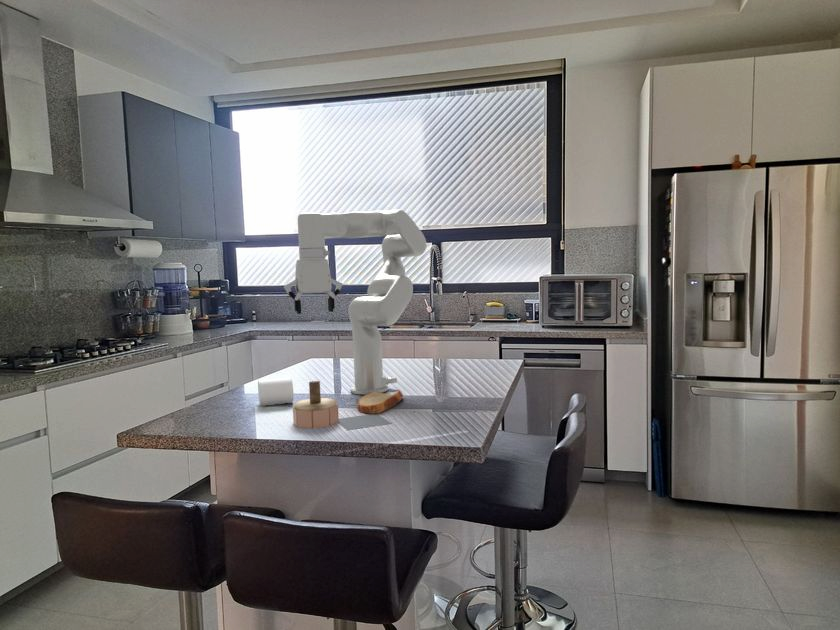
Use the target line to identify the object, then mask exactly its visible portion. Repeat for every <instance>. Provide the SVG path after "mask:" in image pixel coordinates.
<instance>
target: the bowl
mask: <svg viewBox="0 0 840 630" xmlns="http://www.w3.org/2000/svg"><path fill="white" fill-rule="evenodd" d="M292 416H293V417H292V419H293V425H294V426H295V427H296V428H302V429H303V428H304V429H319V428H324V427H325V428H326V427H331V426H333V425H335V424H337V423H338V421H339V419H340V418H339V404H338V402H336V406H334V407H332V408H329V409H324V410H316V411H303V410H297V409H295V407H294V405H292Z"/></svg>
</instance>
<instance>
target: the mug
mask: <svg viewBox="0 0 840 630" xmlns="http://www.w3.org/2000/svg"><path fill="white" fill-rule="evenodd" d="M257 390H258V392H257V393H258V394H257V395H258V404H260V405H259V407H266V406H265V405H269V406H276V405H275V404H278V405H286V404H285V403H288V404H293V403H294V384H293V379H292V377H291V376H290V377H281V378H269V379H259V380H257Z"/></svg>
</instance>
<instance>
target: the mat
mask: <svg viewBox="0 0 840 630" xmlns="http://www.w3.org/2000/svg"><path fill="white" fill-rule="evenodd" d="M337 423H338V424H339V425H340V426H341V427H343V429H345V430H347V431H353V430H358V429H365V428H373V427H380V426H386V425H392V424H393V423H392V421H389V420H388V419H386V418H385V417H383V416H382V415H379V413H378V414H362V415H355V416H348V417H342V418H339V421H338V422H337Z"/></svg>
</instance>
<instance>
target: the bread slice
mask: <svg viewBox="0 0 840 630" xmlns="http://www.w3.org/2000/svg"><path fill="white" fill-rule="evenodd" d="M403 396H404V394H403V392H402V391H401V390H400V389H398V390H397V392H394V393H392V394H391V393H390V394H388V393H385V392H383V393H381V392H377V391H374V392H372V393H370V394H367V395H363V396H362V397H360V398H359V399H358V403H357V409H356V410H357V411H358V412H360V413H363V414H367V415H369V414H378V415H379V414H381V413H384V412H385V411H388V410H390V409H391V408H393V407H394V406H396V405H397V404H399V402H401V401H402V398H403Z"/></svg>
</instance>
